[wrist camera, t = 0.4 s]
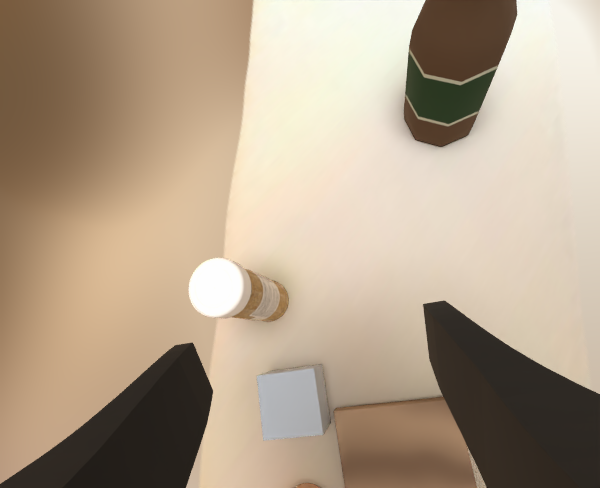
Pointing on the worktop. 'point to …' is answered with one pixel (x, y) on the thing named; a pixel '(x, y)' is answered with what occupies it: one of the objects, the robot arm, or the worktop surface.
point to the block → (293, 402)
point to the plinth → (402, 446)
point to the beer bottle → (453, 64)
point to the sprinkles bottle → (235, 292)
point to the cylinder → (307, 485)
